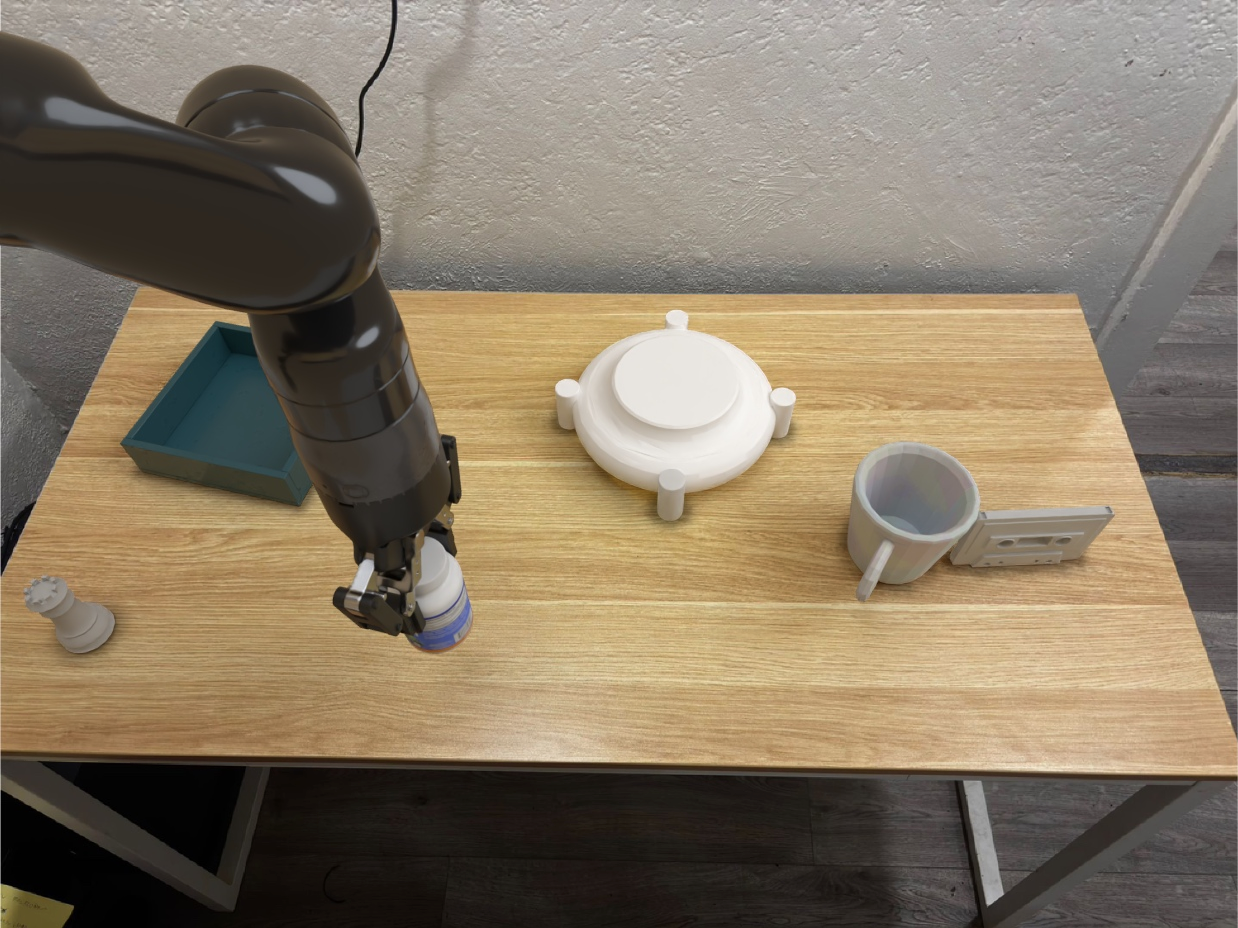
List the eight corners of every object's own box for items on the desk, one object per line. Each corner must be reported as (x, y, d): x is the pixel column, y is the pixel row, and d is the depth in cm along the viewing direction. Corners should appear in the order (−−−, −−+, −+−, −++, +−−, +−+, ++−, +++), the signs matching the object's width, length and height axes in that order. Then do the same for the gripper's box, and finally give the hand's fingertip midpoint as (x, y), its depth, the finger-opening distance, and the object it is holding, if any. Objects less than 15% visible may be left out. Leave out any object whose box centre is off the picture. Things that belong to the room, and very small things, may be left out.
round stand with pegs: (545, 515, 81) (538, 471, 75) (569, 339, 95) (565, 291, 89) (795, 527, 80) (808, 483, 74) (781, 347, 94) (791, 299, 88)
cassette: (1073, 546, 78) (1111, 500, 72) (1080, 564, 77) (1120, 518, 71) (946, 552, 78) (973, 506, 72) (951, 570, 77) (980, 524, 70)
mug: (961, 535, 79) (999, 473, 71) (901, 660, 71) (935, 606, 63) (858, 486, 82) (883, 422, 74) (791, 600, 75) (810, 542, 67)
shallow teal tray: (299, 506, 82) (284, 479, 78) (141, 471, 84) (119, 443, 81) (374, 377, 92) (364, 347, 88) (231, 350, 94) (215, 320, 91)
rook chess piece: (73, 665, 72) (19, 624, 65) (57, 629, 74) (2, 585, 68) (125, 635, 74) (76, 591, 67) (107, 600, 76) (59, 554, 69)
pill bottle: (395, 610, 65) (365, 544, 58) (460, 582, 67) (439, 514, 59) (418, 668, 62) (389, 607, 55) (485, 638, 64) (467, 574, 56)
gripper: (364, 344, 52) (417, 500, 65) (246, 535, 43) (335, 669, 57) (479, 366, 50) (508, 520, 64) (380, 566, 42) (438, 695, 56)
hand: (426, 589), depth 60 cm, fingers closed on pill bottle, 5 cm apart
